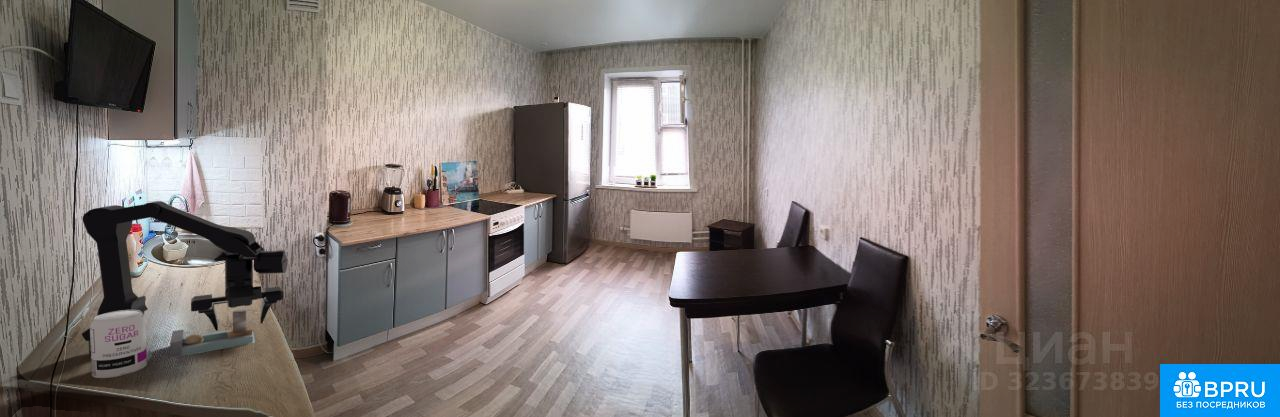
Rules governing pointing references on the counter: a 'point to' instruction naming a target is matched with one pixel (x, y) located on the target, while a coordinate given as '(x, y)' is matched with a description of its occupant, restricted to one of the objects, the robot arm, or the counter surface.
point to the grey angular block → (177, 343)
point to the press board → (216, 343)
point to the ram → (239, 325)
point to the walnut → (193, 339)
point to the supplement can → (118, 343)
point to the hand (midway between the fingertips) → (239, 326)
